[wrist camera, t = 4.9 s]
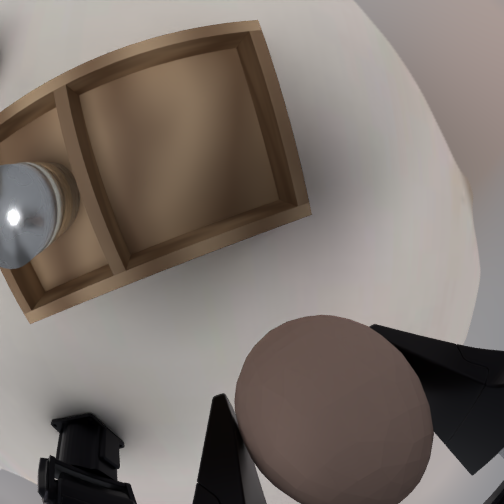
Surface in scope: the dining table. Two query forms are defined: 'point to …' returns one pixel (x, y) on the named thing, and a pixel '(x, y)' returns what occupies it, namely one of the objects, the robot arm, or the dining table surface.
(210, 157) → the crate
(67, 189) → the tin
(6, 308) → the dining table surface
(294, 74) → the dining table surface
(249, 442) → the egg
